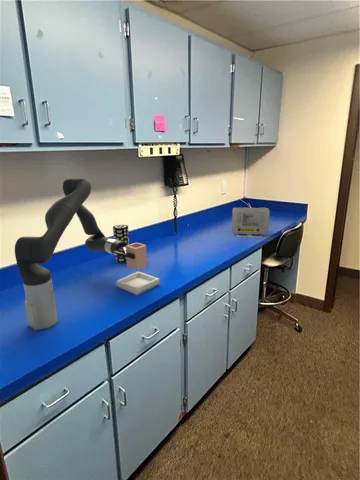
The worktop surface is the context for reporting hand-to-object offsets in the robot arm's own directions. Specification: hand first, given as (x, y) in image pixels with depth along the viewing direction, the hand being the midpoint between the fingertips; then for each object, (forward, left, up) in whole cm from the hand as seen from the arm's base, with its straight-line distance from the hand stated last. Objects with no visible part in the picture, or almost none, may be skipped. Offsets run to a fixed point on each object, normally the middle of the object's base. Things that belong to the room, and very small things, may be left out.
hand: (140, 254), depth 138 cm
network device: (+109, 0, -16) cm, 110 cm away
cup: (0, +2, -6) cm, 7 cm away
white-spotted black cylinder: (+18, +34, -16) cm, 42 cm away
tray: (0, +2, -16) cm, 16 cm away
